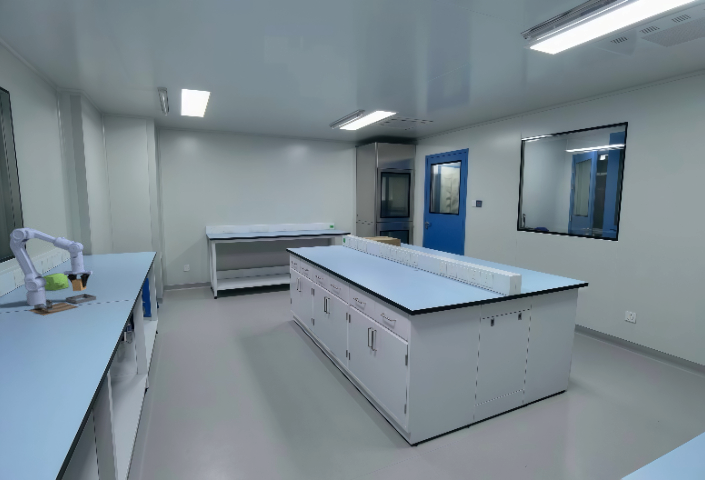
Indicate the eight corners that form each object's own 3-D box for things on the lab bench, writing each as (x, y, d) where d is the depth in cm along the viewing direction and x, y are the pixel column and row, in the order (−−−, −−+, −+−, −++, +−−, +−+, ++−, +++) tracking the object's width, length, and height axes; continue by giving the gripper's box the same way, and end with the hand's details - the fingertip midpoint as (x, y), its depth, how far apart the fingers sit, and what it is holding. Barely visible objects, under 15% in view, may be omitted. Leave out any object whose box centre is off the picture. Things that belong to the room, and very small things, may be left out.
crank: (33, 309, 196) (31, 297, 195) (42, 307, 199) (40, 295, 198) (47, 313, 188) (46, 301, 187) (56, 311, 191) (55, 299, 190)
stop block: (72, 290, 208) (71, 280, 207) (77, 288, 213) (76, 278, 212) (81, 290, 209) (80, 280, 208) (86, 288, 213) (85, 278, 212)
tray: (66, 302, 211) (65, 297, 210) (85, 298, 219) (85, 293, 219) (76, 305, 205) (76, 300, 204) (96, 301, 213) (95, 296, 213)
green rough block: (37, 290, 240) (34, 276, 239) (53, 286, 250) (50, 272, 248) (56, 291, 235) (53, 277, 233) (72, 287, 244) (69, 273, 243)
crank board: (27, 312, 194) (27, 310, 194) (63, 304, 208) (62, 302, 208) (43, 317, 186) (43, 315, 186) (79, 308, 200) (79, 306, 200)
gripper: (58, 265, 204) (61, 289, 206) (86, 264, 206) (89, 288, 208) (67, 263, 211) (69, 285, 213) (94, 262, 213) (96, 285, 215)
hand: (79, 286), depth 211 cm, fingers closed on stop block, 4 cm apart
